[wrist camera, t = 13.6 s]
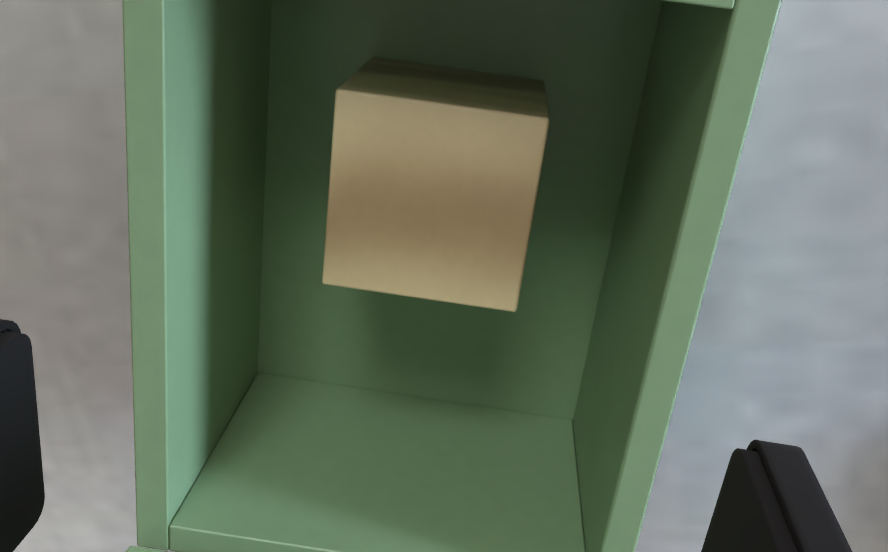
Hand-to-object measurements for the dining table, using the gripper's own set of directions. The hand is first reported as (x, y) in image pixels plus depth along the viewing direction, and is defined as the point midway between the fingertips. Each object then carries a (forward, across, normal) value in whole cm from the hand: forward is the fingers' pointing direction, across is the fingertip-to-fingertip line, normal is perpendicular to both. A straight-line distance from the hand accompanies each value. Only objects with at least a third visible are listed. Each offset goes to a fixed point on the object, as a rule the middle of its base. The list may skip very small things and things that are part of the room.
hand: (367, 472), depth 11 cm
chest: (+18, +1, +2) cm, 18 cm away
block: (+17, +1, 0) cm, 17 cm away
